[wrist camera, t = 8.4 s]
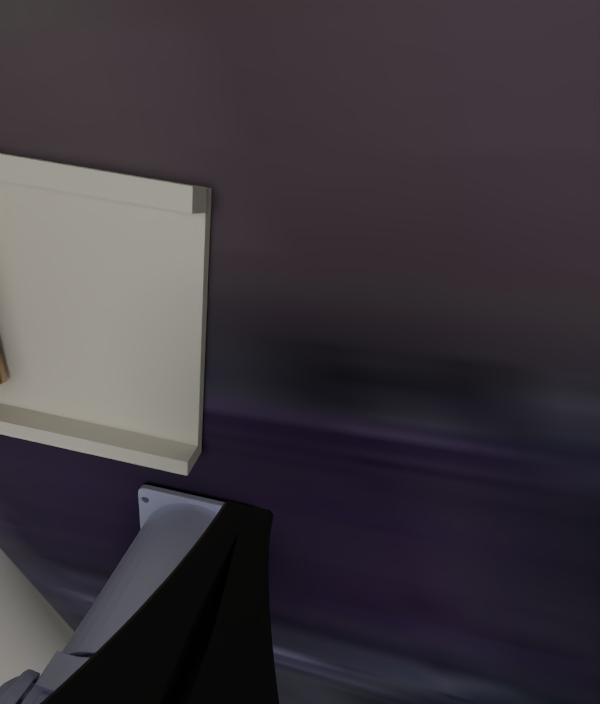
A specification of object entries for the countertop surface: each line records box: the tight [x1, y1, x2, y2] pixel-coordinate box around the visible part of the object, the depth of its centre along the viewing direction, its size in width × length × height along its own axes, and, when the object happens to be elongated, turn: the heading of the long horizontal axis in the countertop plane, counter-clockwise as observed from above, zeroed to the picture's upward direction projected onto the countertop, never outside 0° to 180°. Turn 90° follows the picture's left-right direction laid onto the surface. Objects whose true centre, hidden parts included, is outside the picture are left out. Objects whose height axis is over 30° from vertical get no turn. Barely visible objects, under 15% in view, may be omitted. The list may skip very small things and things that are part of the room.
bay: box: [0, 153, 212, 476], centre depth 18 cm, size 15×20×2 cm
